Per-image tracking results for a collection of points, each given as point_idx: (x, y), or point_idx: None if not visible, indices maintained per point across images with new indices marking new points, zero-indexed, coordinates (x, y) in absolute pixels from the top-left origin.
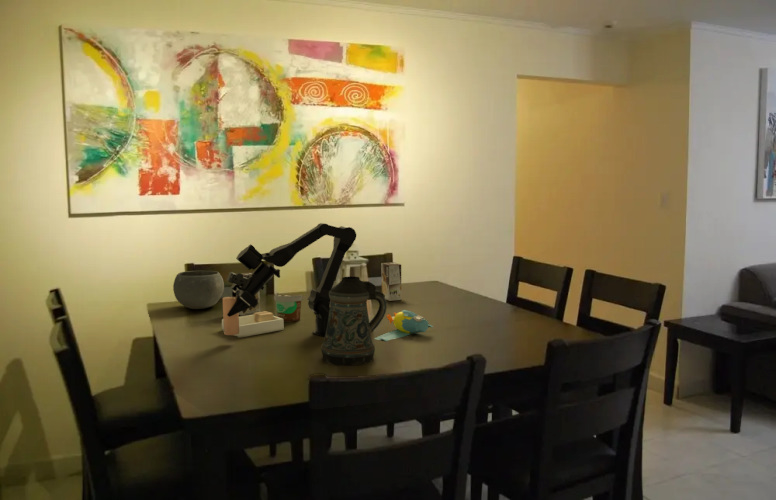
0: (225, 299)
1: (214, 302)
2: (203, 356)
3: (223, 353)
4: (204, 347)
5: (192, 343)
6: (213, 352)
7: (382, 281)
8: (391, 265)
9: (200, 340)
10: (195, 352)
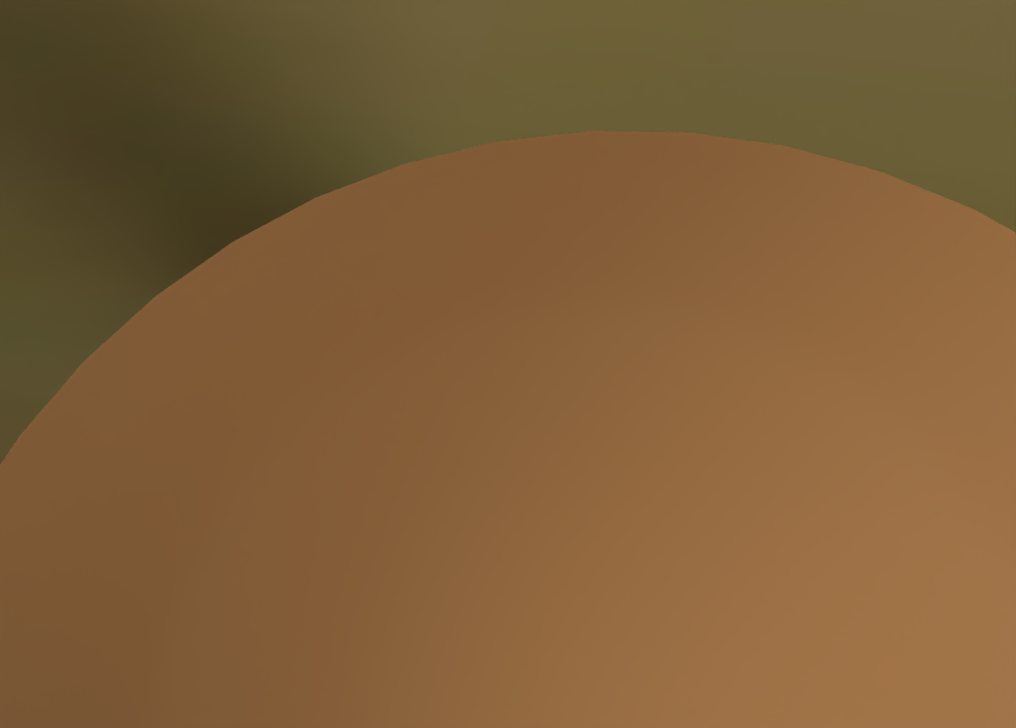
0: (145, 330)
1: None
2: (63, 78)
3: (87, 319)
4: (478, 129)
5: (749, 3)
6: (188, 208)
7: None
8: None
9: (878, 115)
10: (282, 5)
